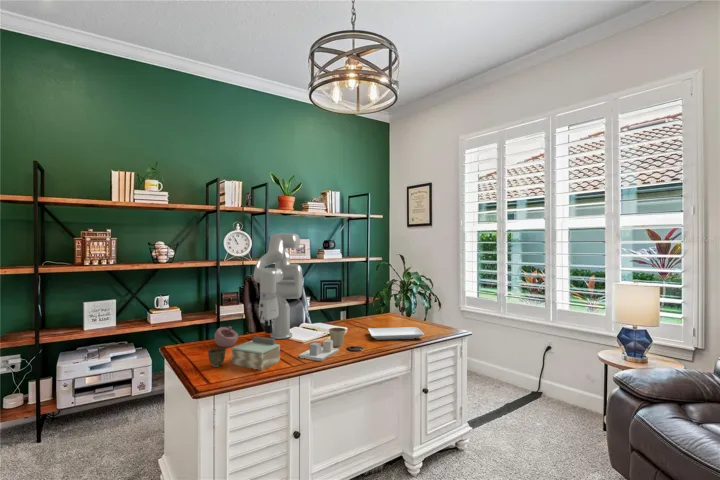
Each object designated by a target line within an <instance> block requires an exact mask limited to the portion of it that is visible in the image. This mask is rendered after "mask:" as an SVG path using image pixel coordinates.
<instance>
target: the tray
mask: <svg viewBox="0 0 720 480" xmlns="http://www.w3.org/2000/svg"><path fill="white" fill-rule="evenodd" d="M367 331H368V332H369V334H370V337H372V338H374V339H375V340H377V341H379V340H382V341H383V340H406V339H407V340H410V339H411V340H413V339H415V338H416V339H418V338H420V337H423V336H424V335H425V333H424V332H423V331H422V330H421V329H420V328H418V327H415V326H414V327H413V326H405V327H379V328H378V327H377V328H375V327H373V328H372V327H371V328H370V327H369V328H367Z"/></svg>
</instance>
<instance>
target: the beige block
mask: <svg viewBox="0 0 720 480" xmlns="http://www.w3.org/2000/svg"><path fill="white" fill-rule="evenodd" d="M322 347H323V352H331V351H332V350H333V348H334V346H333V340H331V339H324V340H323V342H322Z"/></svg>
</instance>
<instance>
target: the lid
mask: <svg viewBox="0 0 720 480" xmlns="http://www.w3.org/2000/svg"><path fill="white" fill-rule="evenodd" d="M277 347H280V348H281V344H277V343H276V339H274V338H271V337H263V336H262V337H261V336H252V340H249V341H246V342H243V343H241V344H238V345H236V346H231V350H239V351H246V352H252V353H258V354H263V353H265V352H268V351H270V350H273V349H275V348H277Z"/></svg>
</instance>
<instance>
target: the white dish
mask: <svg viewBox="0 0 720 480" xmlns="http://www.w3.org/2000/svg"><path fill="white" fill-rule="evenodd" d="M339 352H340V348H337V347H336V348H335V347H333V350H332V351H331V352H323V345H321V354H319V355H317V356H316V355H310V348H309V349H308V350H305V351H304V352H301V353H299V354H298V358H299V357H300V359H304V358H305V359H306V360H310V361H318V362H323V361H326V359H329V358H330V357H332V356H334V355H335V354H337V353H339Z"/></svg>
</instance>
